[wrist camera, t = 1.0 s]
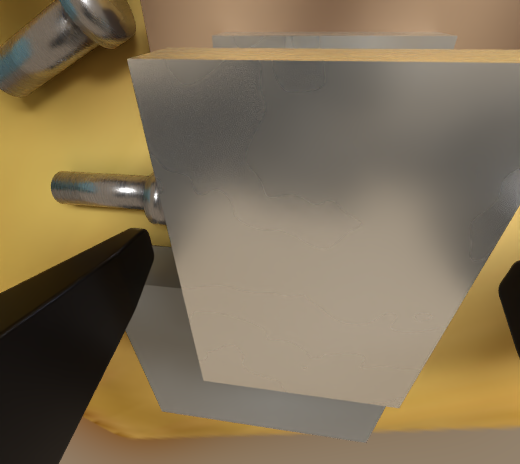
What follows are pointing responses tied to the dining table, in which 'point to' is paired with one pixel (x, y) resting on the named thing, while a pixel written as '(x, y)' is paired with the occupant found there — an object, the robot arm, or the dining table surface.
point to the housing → (329, 198)
